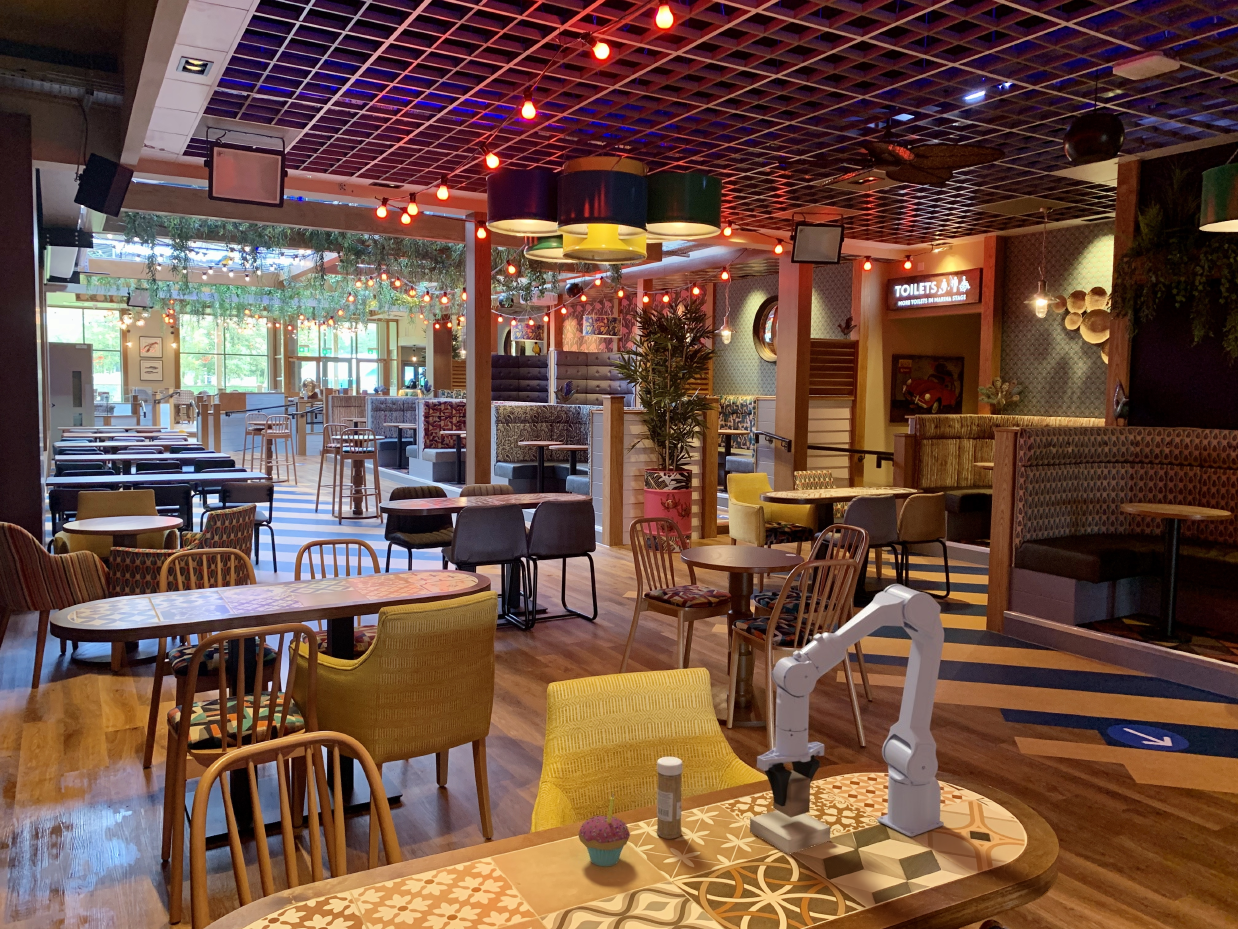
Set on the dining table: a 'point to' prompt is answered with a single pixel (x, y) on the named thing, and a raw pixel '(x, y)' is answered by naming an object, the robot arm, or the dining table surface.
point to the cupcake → (604, 837)
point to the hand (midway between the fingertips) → (790, 801)
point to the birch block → (790, 830)
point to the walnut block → (796, 796)
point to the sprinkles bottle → (669, 797)
